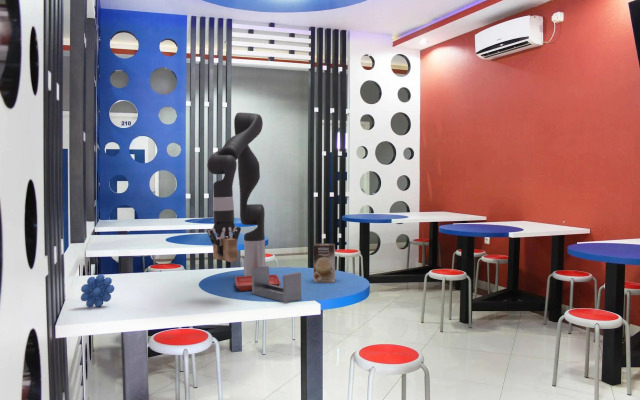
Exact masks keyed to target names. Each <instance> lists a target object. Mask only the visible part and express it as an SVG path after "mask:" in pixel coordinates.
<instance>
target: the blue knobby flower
mask: <svg viewBox="0 0 640 400" xmlns="http://www.w3.org/2000/svg"><path fill="white" fill-rule="evenodd" d="M112 282H113V279H112V278H111V277H106V276H105V275H104V274H102V273H101V274H98V275H96V277H95V276H90V277H88V278H87V281H86V283H84V284H83V285H82V286H81V288H80V291H81V292H82V294H81V295H80V300H81V301H82V302H86V303H85V305H86V306H87V308H91V307H93V306H95V307H96V308H101V307H102V306H103V304H104V303H108V302H109V301H111V299H112V295H111V294H112V293H113V292H115V286H114V285H113V284H112Z"/></svg>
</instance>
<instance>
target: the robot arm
mask: <svg viewBox="0 0 640 400" xmlns="http://www.w3.org/2000/svg"><path fill="white" fill-rule="evenodd" d="M263 124H264V123H263V118H262V116H261V115H260V114H259V113H253V112H252V113H251V112H237V113H236V114H235V116H234V119H233V125H234V127H233V128H234V129H233V130H234V135H233V136H231V137H230V138H229V139H227V141H226V142H225V143H224V145H223V147H222V148H220V149H218V150H217V151H216V152H214V153H213V154H212V155H211V156H210V157H209V158H208V160H207V164H206V166H207V170H208V172H209V173H211V174H212V175H223V178H222V179H220V180H217V181H215V182H214V183H213V185H212V186H213V187H212V188H213V191H212V192H213V193H212V194H213V201H212V208H213V227H211V229H207V230H206V234H207V235H208V238H209V240H210V242H211V244H212V245H213V244H215V245H217V253H218V254H219V256H223V246H222V244H223V239H224V237H225V238H232V239H237V241H238V240H239V236H240V233H241V230H242V228H241V227H240V226H237V225H235V223H234V221H235V210H234V209H235V208H234V195H233V192H234V191H233V185H234V180H235V177H236V176H235V174H236V171H237V173H238V174H237V175H238V185H239V218H240V223H241V225H243V226H256V228H254V229H253V230H251V231H249V232H245V234H244V235H243V246H244V248H243V249H244V256H243V276H252V268H258V267H264V266H266V243H265V242H266V241H265V239H266V238H265V206H264V205H263V204H261V203H259V204H258V203H257V204H251V203H250V204H248V201H249V198H250V196H251V194H252V193H253V191H254V189H255V188H256V186H257V185H258V183H259V180H260V178H261V174H260V173H261V172H260V161H259V160H258V158H257V157H256V155H255V153H254V152H253V151H252V149H251V147H250V146H249V144H250V143H251V142H253V141H254V140H255V139H256V138H257V137H258V136H259V135H261V132H262V131H263Z"/></svg>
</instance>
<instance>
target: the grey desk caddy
mask: <svg viewBox="0 0 640 400" xmlns="http://www.w3.org/2000/svg"><path fill="white" fill-rule="evenodd" d="M269 275H270V266H267V265H265V266H264V267H258V268H252V293H251V294H252V295H255V296H259V297H263V298H265V299H269V300H270V299H271V300H274V301H278V302H281V303H285V304H287V303H292V302H296V301H297V302H298V301H300V300H301V301H302V273H301V272H292V273H287V274H286V273H285V274H282V286H281V285H279V286H276V285H271V284H269Z"/></svg>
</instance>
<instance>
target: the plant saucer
mask: <svg viewBox="0 0 640 400" xmlns="http://www.w3.org/2000/svg"><path fill="white" fill-rule="evenodd" d="M234 278H235V286H236V288H237V289H238V290H239V291H240V292H249V291H252V276H244V275H243V276H241V275H240V276H235V277H234ZM281 283H282V282H281V281H280V279H279V276H278V275H277V274H269V284H271V285H276V286H281Z"/></svg>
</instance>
